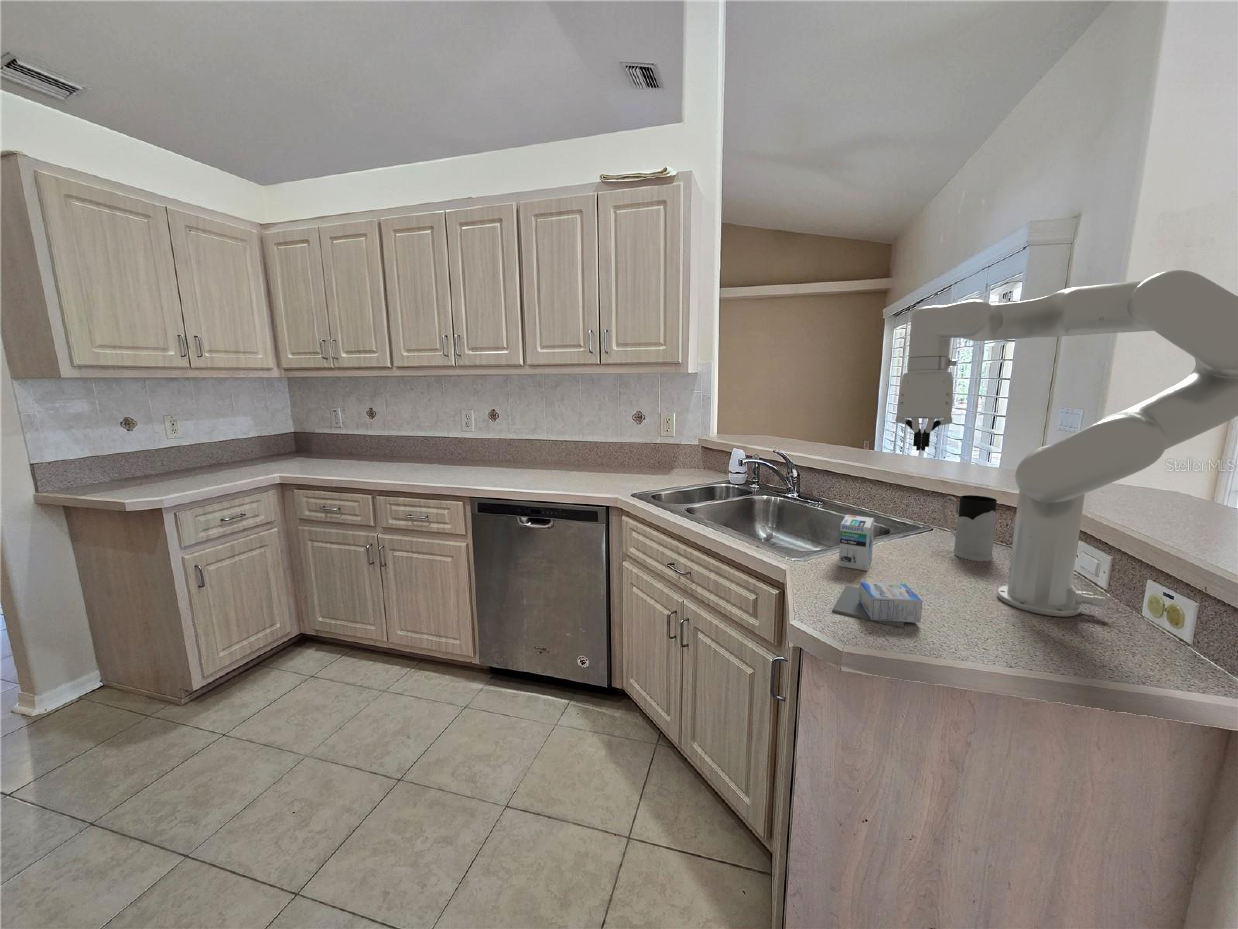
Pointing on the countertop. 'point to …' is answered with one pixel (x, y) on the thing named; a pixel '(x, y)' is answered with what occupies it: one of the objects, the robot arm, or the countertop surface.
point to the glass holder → (974, 527)
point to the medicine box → (890, 602)
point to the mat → (856, 606)
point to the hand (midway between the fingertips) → (920, 449)
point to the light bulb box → (856, 542)
